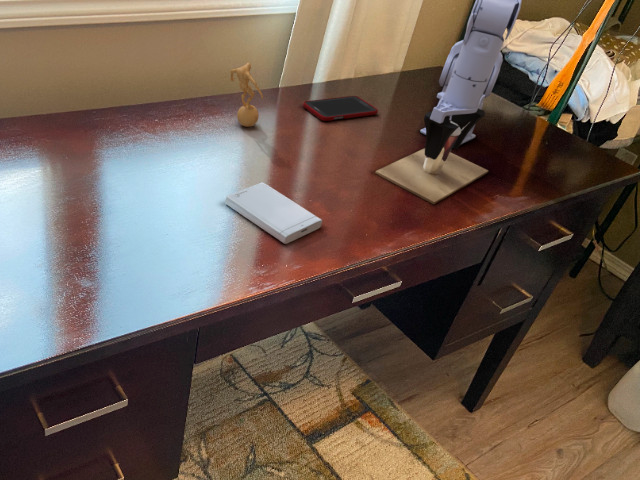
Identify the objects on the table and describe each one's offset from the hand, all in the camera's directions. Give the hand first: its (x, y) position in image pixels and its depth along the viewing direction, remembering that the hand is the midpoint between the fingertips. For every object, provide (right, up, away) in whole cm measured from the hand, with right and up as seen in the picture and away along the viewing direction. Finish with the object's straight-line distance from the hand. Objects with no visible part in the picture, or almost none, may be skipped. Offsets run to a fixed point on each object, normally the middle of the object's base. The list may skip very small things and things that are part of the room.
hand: (441, 151), depth 107 cm
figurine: (-35, +6, +7) cm, 36 cm away
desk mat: (-1, -3, +3) cm, 4 cm away
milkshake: (-1, -3, +3) cm, 4 cm away
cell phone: (-15, +13, +19) cm, 27 cm away
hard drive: (-31, -14, -16) cm, 37 cm away
